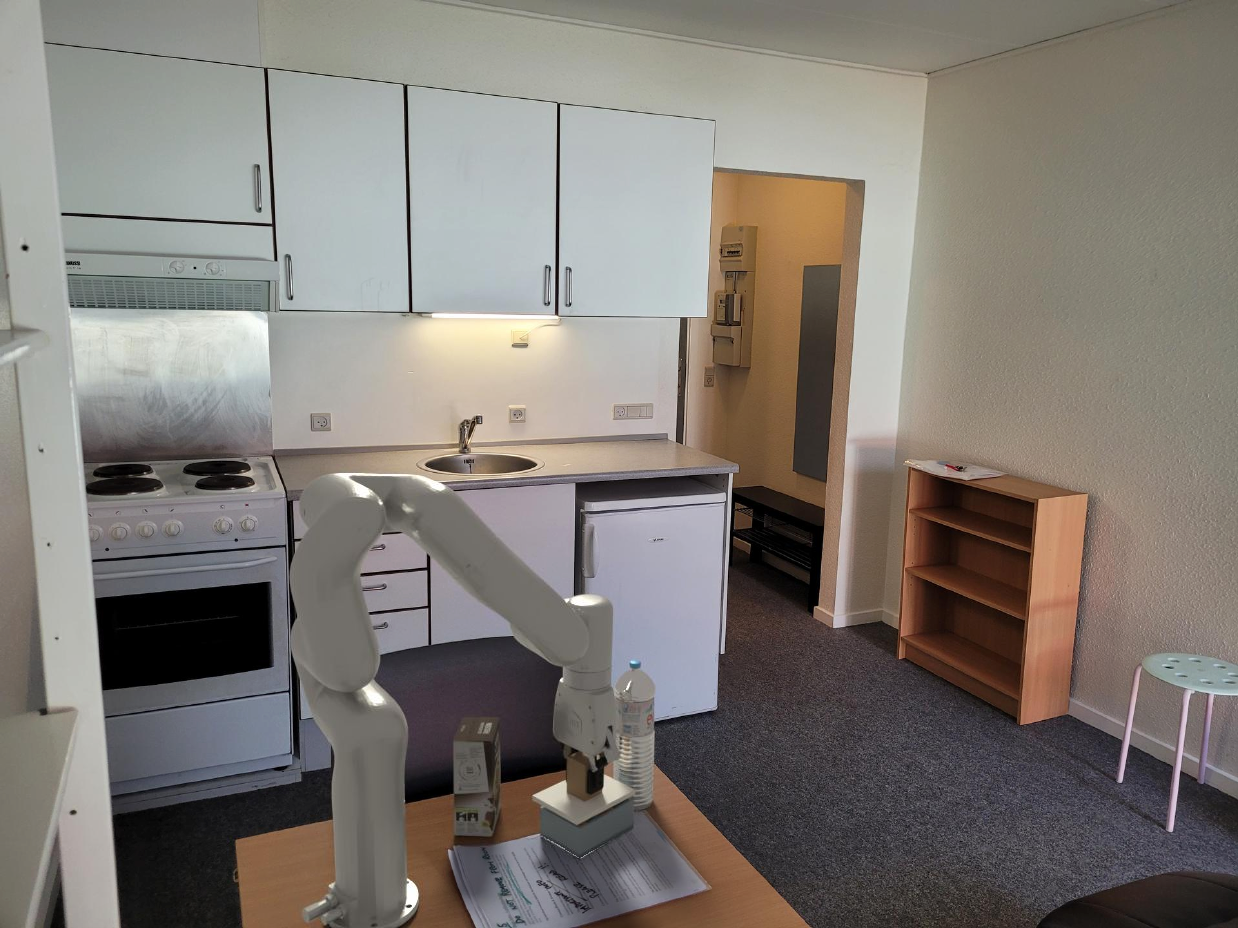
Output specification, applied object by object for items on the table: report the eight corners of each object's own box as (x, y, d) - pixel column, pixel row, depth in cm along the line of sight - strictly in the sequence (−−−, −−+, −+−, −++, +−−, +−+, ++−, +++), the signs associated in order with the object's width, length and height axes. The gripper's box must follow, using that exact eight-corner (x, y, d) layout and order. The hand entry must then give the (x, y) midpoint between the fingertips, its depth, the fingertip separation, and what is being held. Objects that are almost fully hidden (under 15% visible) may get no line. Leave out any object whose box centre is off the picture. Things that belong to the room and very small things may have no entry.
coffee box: (493, 837, 145) (492, 741, 143) (453, 836, 145) (451, 740, 143) (502, 806, 154) (501, 715, 152) (463, 805, 154) (462, 715, 152)
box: (580, 859, 140) (580, 829, 139) (540, 836, 146) (540, 806, 145) (633, 828, 148) (633, 799, 147) (593, 807, 154) (593, 779, 154)
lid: (576, 824, 138) (577, 782, 137) (532, 799, 144) (532, 759, 143) (635, 794, 147) (636, 754, 146) (590, 772, 154) (591, 733, 153)
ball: (607, 831, 146) (607, 813, 145) (593, 823, 148) (593, 806, 147) (620, 823, 148) (620, 806, 148) (606, 816, 150) (606, 799, 150)
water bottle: (630, 787, 161) (632, 651, 157) (661, 800, 157) (664, 661, 153) (604, 802, 156) (606, 662, 152) (635, 817, 152) (637, 673, 147)
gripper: (533, 666, 145) (531, 775, 148) (609, 698, 134) (606, 814, 137) (567, 655, 151) (565, 759, 154) (643, 684, 140) (639, 796, 142)
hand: (584, 784), depth 145 cm, fingers closed on lid, 4 cm apart
